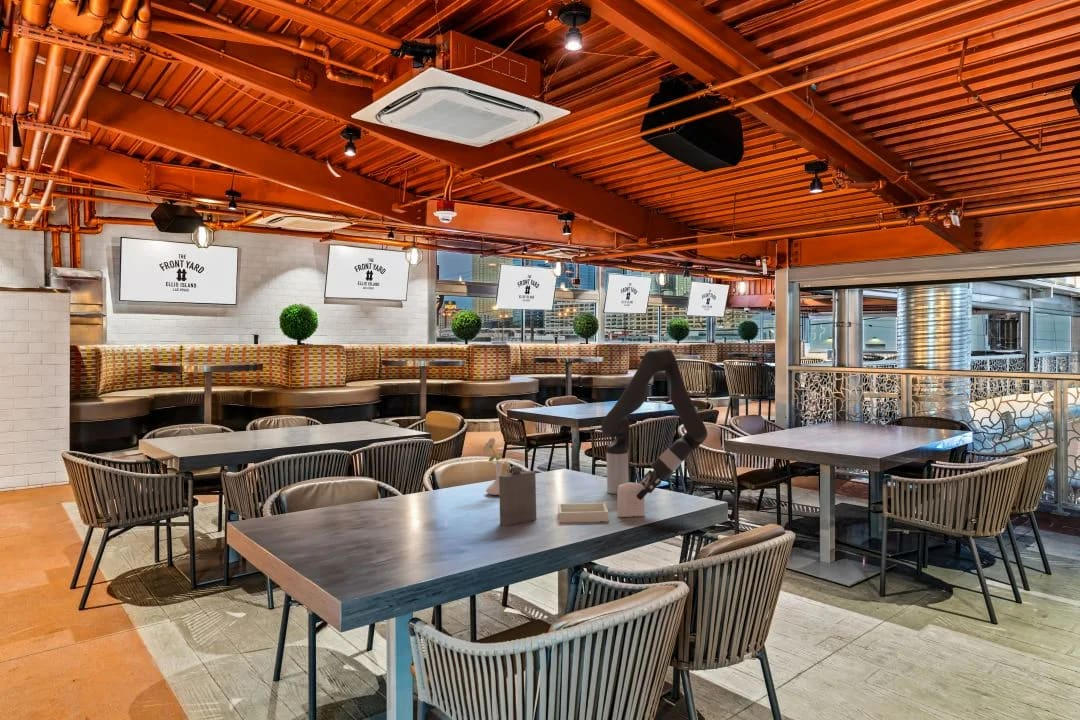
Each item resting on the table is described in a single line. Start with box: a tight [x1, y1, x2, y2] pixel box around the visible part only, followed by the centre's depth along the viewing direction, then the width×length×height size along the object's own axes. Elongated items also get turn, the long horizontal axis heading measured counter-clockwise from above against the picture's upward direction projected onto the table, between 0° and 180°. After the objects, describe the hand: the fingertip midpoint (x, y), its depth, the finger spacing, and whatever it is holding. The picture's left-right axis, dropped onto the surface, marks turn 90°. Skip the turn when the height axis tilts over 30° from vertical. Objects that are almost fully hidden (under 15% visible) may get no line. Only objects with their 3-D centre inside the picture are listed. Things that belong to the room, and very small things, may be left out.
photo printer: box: [616, 482, 646, 518], centre depth 243 cm, size 10×4×12 cm, turn 98°
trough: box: [557, 502, 609, 523], centre depth 243 cm, size 14×18×4 cm
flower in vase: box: [482, 437, 505, 496], centre depth 283 cm, size 13×11×25 cm
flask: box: [498, 465, 537, 527], centre depth 239 cm, size 15×6×20 cm, turn 126°
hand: (636, 495), depth 243 cm, fingers open, 8 cm apart
